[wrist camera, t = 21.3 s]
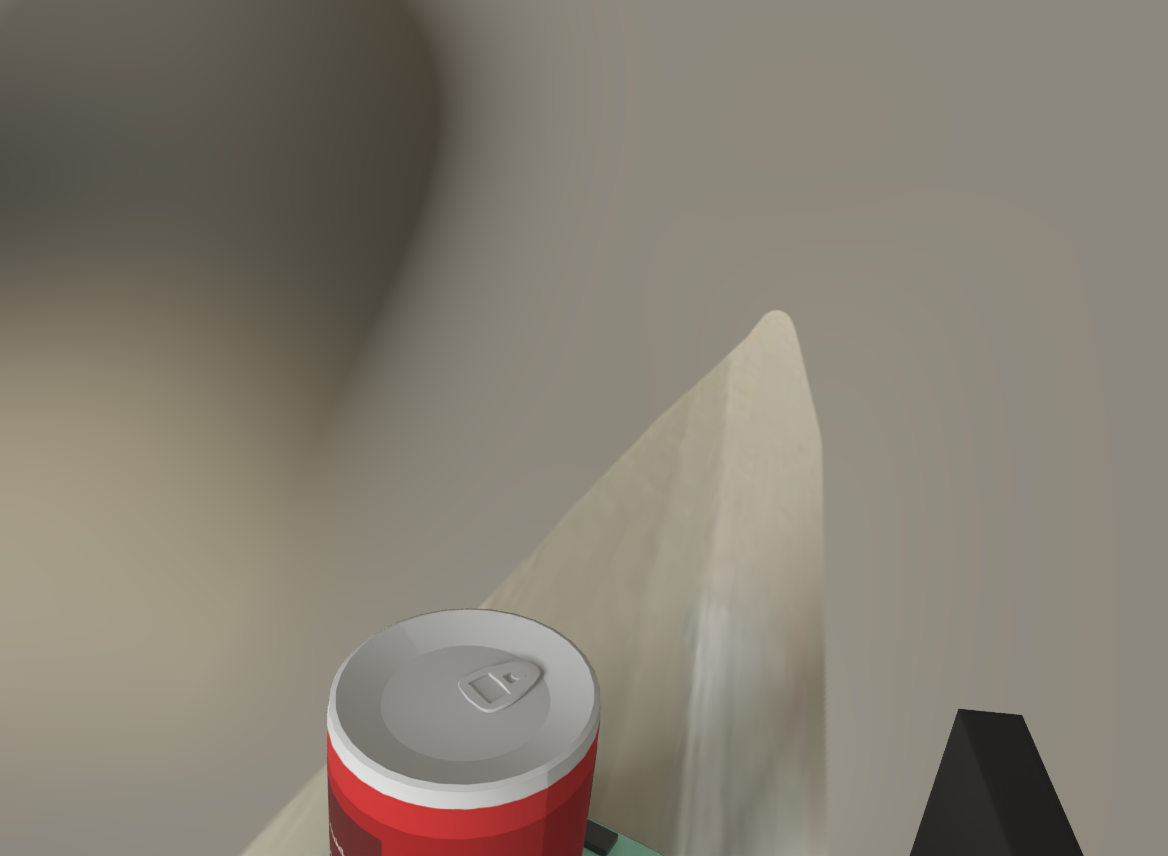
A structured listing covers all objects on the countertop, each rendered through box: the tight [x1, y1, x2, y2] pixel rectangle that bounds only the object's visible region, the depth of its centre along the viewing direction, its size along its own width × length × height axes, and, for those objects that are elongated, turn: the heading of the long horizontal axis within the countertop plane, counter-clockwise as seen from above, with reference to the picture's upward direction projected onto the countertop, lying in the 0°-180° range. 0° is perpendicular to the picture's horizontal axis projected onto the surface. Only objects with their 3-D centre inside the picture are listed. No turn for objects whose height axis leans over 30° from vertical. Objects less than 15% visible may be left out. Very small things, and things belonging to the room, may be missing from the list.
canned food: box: [327, 608, 600, 856], centre depth 34 cm, size 8×8×11 cm
